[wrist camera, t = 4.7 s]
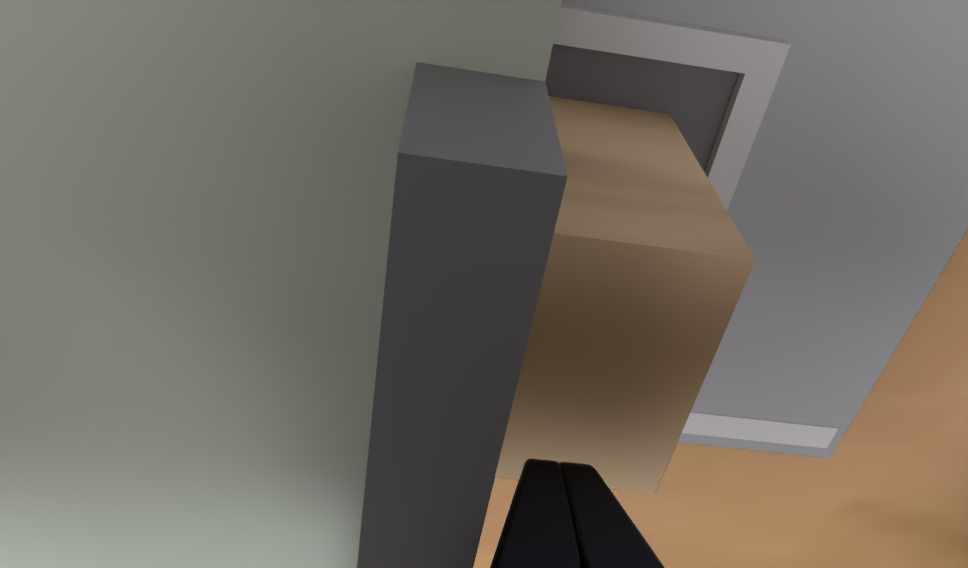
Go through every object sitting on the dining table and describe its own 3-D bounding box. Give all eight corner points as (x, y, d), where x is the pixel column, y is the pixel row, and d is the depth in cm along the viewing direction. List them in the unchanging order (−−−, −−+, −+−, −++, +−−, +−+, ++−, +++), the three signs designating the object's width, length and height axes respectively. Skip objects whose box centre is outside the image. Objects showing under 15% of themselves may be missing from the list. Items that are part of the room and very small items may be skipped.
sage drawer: (439, 406, 18) (416, 798, 11) (126, 372, 17) (-108, 768, 10) (527, -122, 11) (605, 16, 5) (39, -209, 11) (-711, -194, 4)
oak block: (609, 310, 16) (655, 493, 12) (402, 284, 16) (375, 466, 11) (669, 113, 14) (756, 259, 9) (425, 77, 13) (403, 213, 9)
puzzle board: (820, 441, 19) (834, 467, 19) (-142, 336, 17) (-169, 362, 16) (1105, -50, 13) (1144, -40, 12) (-407, -326, 10) (-474, -335, 10)
